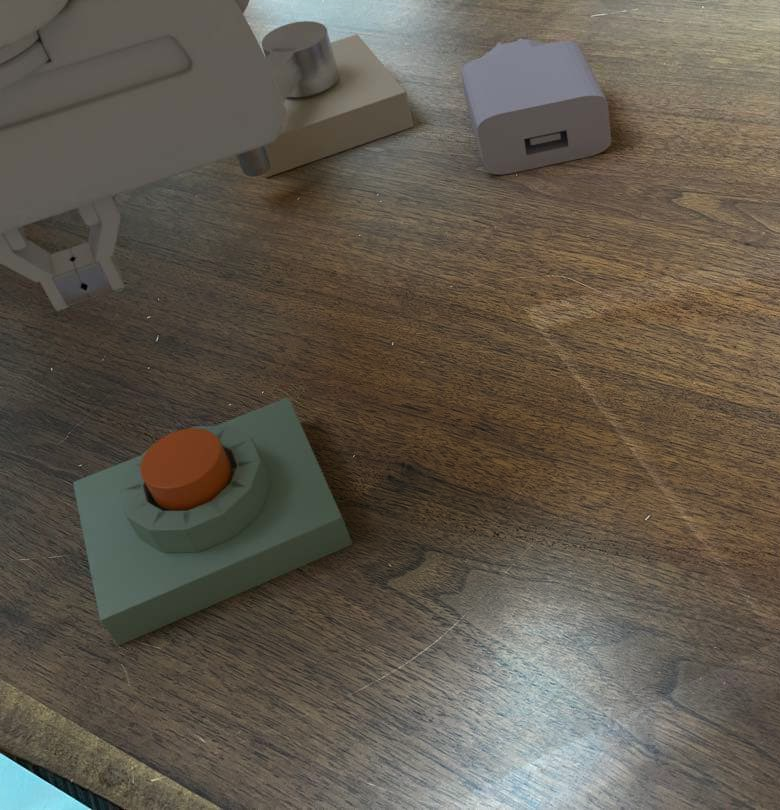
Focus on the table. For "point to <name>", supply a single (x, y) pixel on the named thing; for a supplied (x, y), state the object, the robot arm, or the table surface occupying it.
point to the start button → (186, 469)
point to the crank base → (341, 111)
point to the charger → (535, 105)
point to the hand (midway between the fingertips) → (90, 292)
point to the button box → (208, 527)
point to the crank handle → (294, 73)
